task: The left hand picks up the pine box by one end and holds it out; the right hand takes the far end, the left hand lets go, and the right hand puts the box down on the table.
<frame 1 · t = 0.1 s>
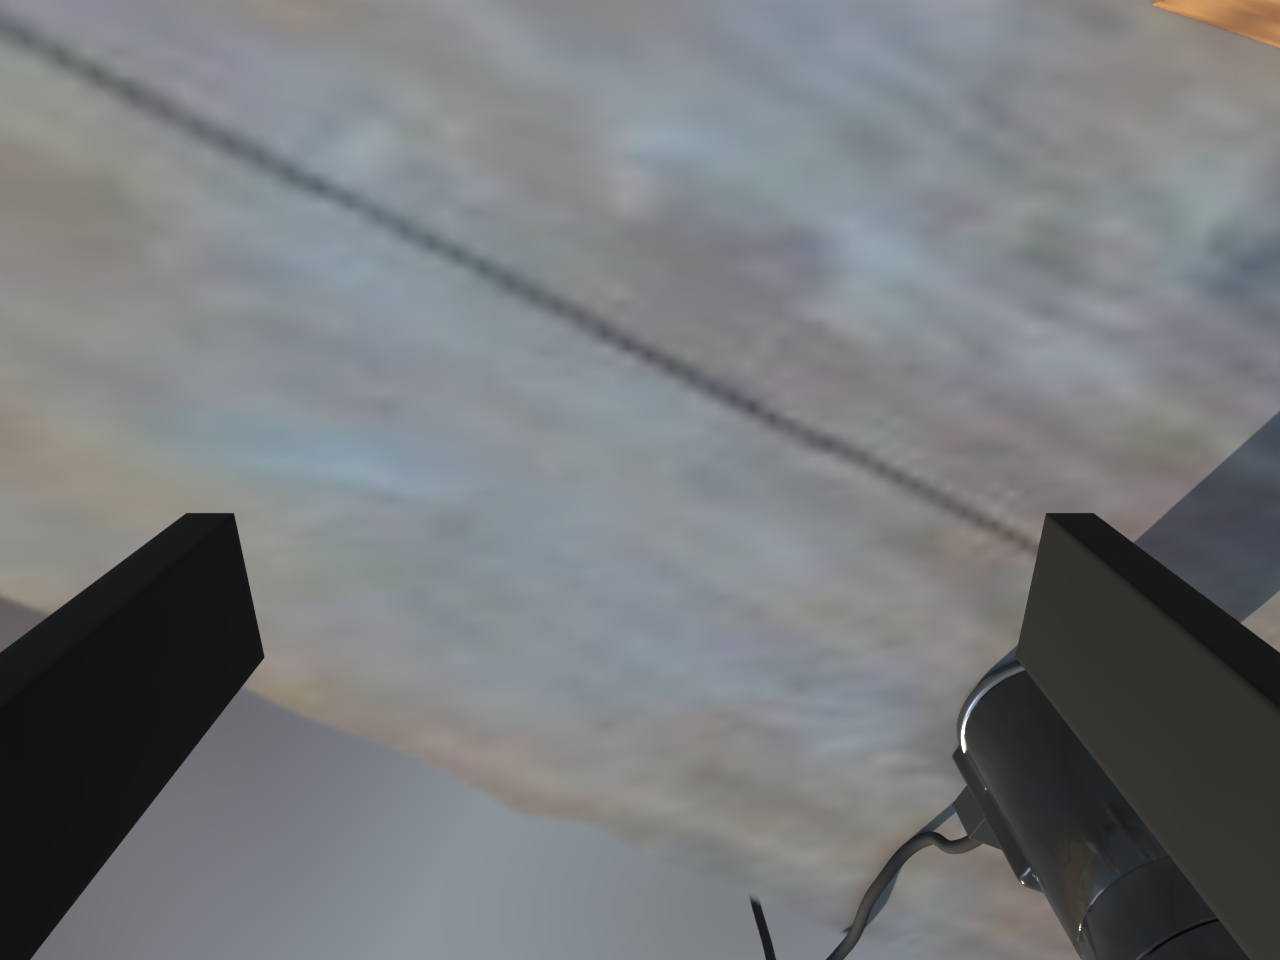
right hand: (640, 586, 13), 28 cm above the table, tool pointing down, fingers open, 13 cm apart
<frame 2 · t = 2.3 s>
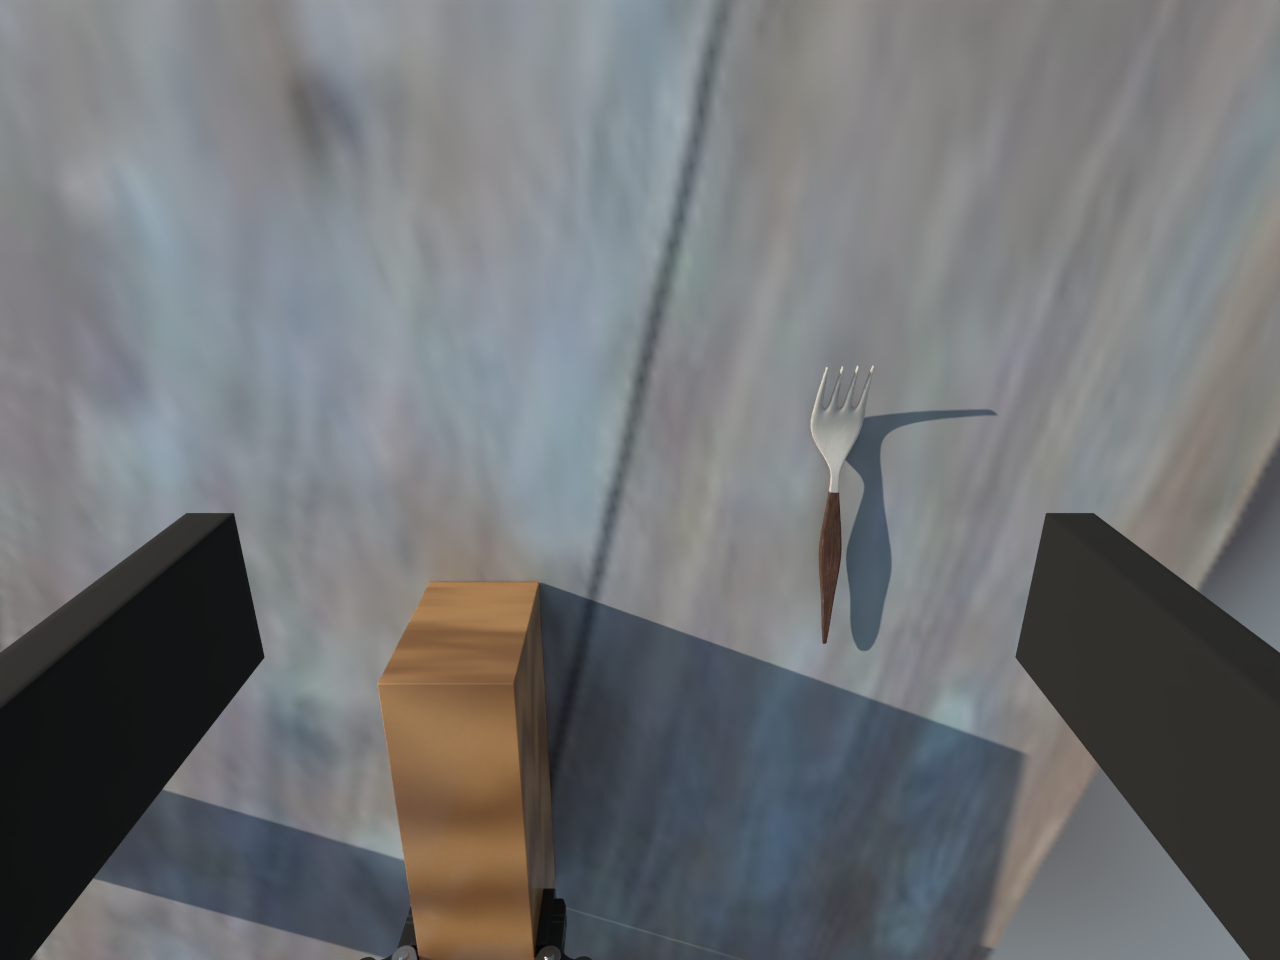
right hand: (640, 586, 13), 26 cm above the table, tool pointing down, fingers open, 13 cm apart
fork: (829, 506, 40), on the table
box: (497, 742, 46), on the table, touching left hand
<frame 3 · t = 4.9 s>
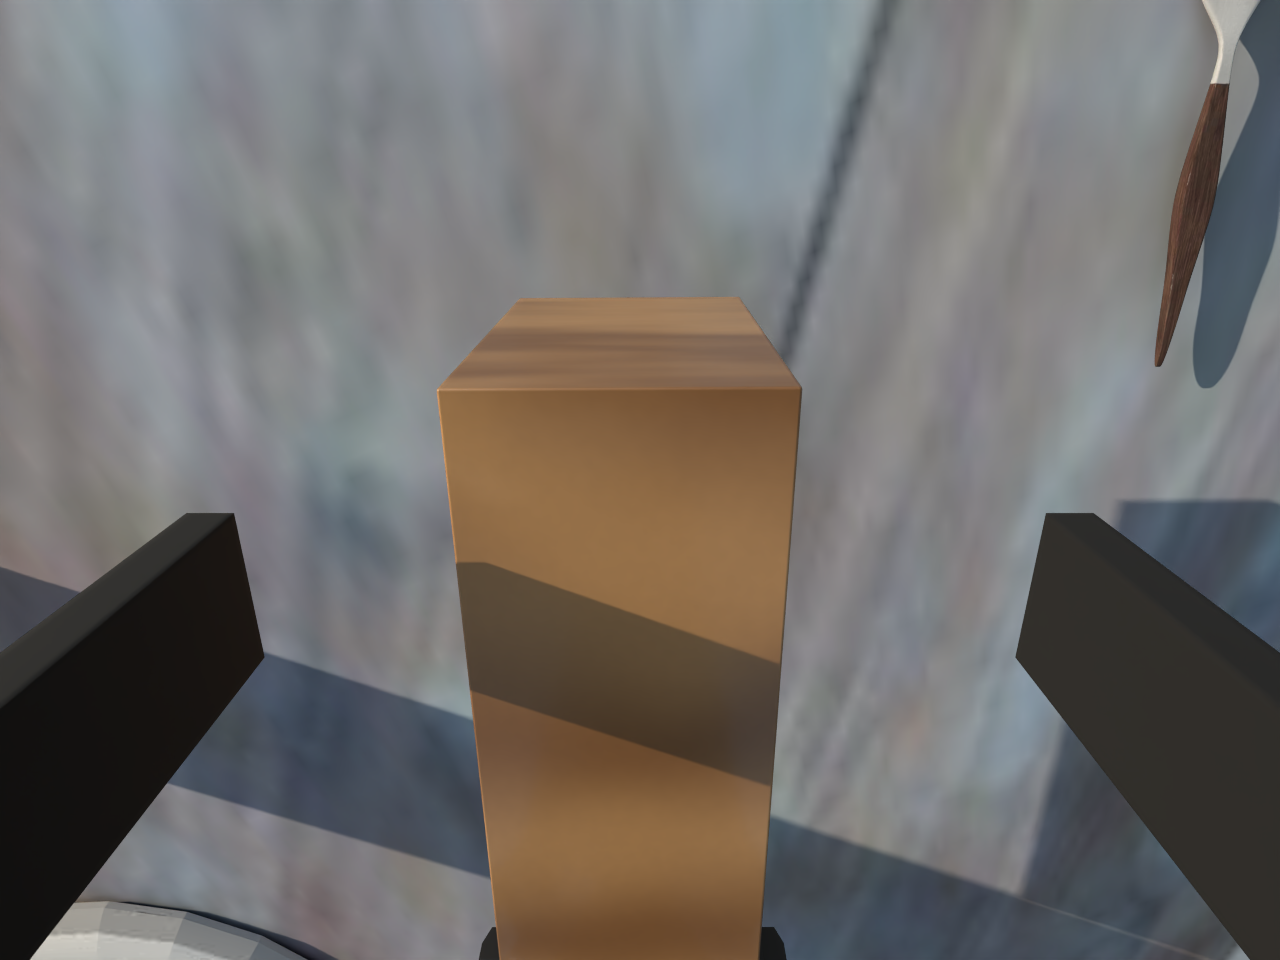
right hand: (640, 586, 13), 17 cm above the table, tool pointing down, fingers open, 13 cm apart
fork: (1197, 124, 25), on the table
box: (633, 638, 25), point 7 cm above the table, touching left hand
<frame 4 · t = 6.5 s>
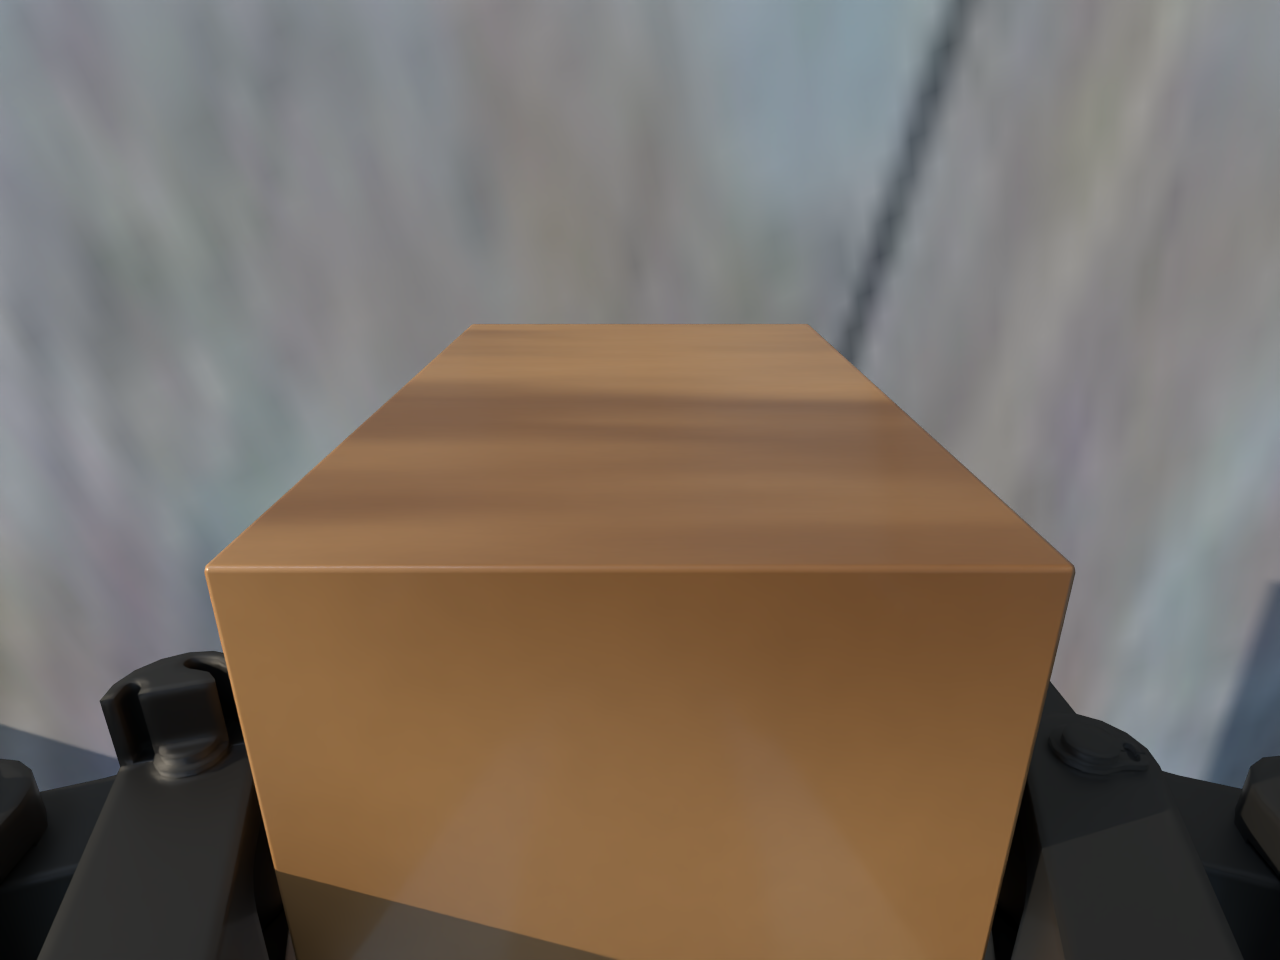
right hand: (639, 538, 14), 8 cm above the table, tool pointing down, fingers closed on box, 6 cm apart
box: (640, 802, 18), point 7 cm above the table, touching right hand, left hand
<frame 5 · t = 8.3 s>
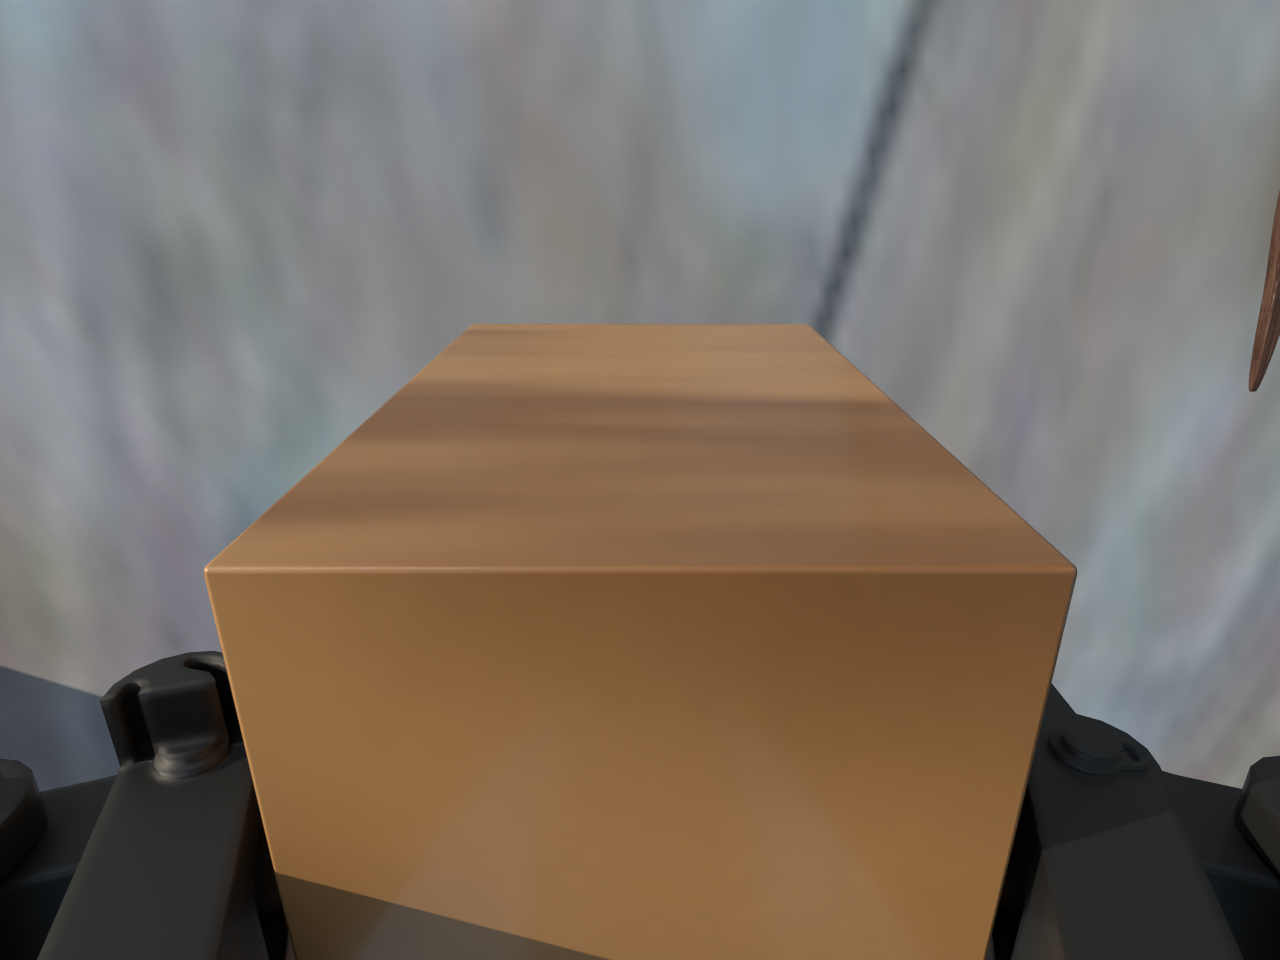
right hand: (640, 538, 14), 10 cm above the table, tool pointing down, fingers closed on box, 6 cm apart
box: (640, 802, 18), point 10 cm above the table, touching right hand
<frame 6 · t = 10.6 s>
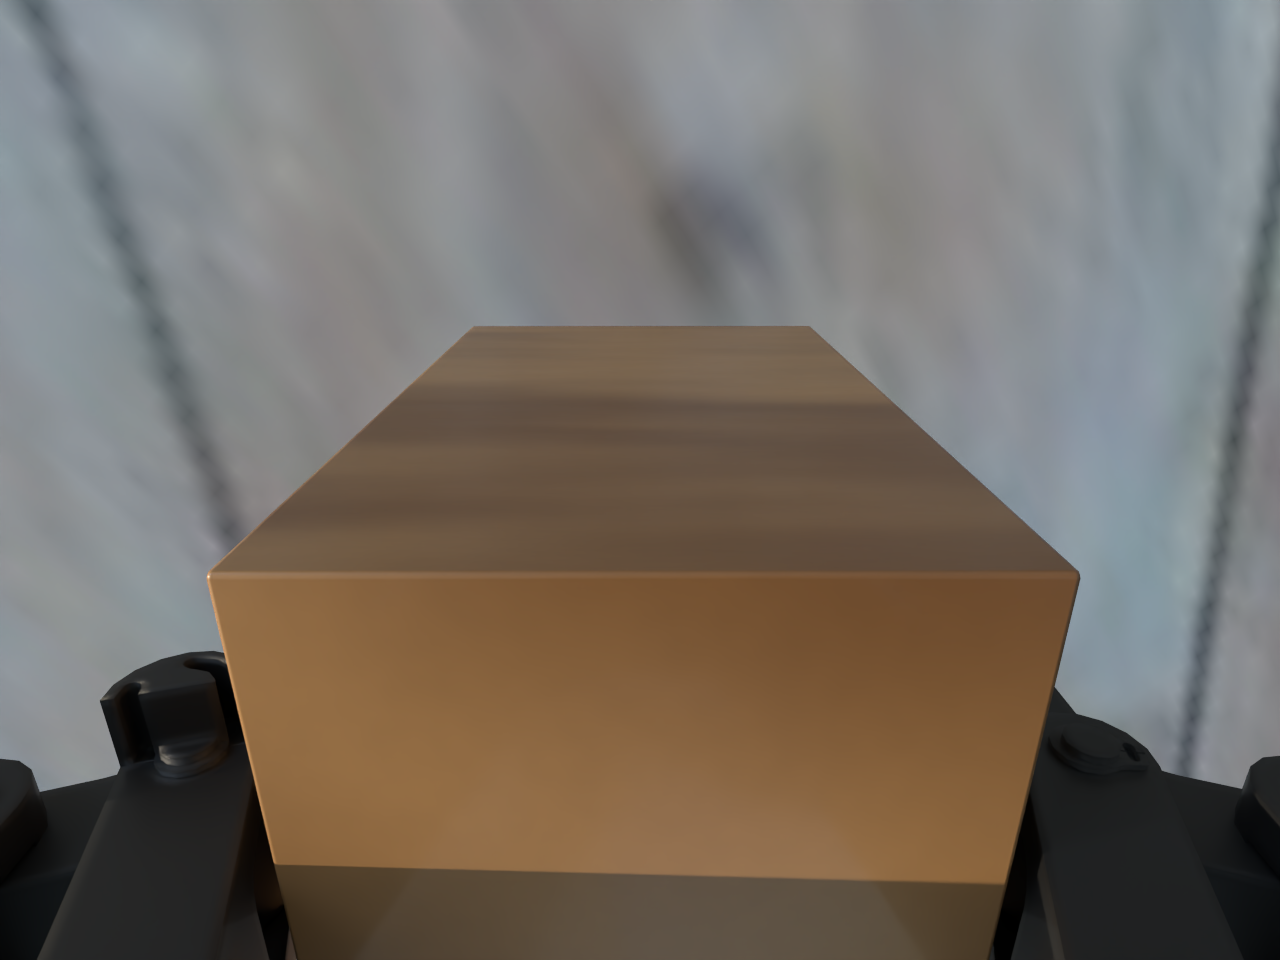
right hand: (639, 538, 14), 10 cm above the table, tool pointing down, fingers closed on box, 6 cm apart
box: (641, 804, 18), point 10 cm above the table, touching right hand
when the right hand's fingers open (2 cm above the table, at t = 14.9 s): box drops 1 cm, on the table.
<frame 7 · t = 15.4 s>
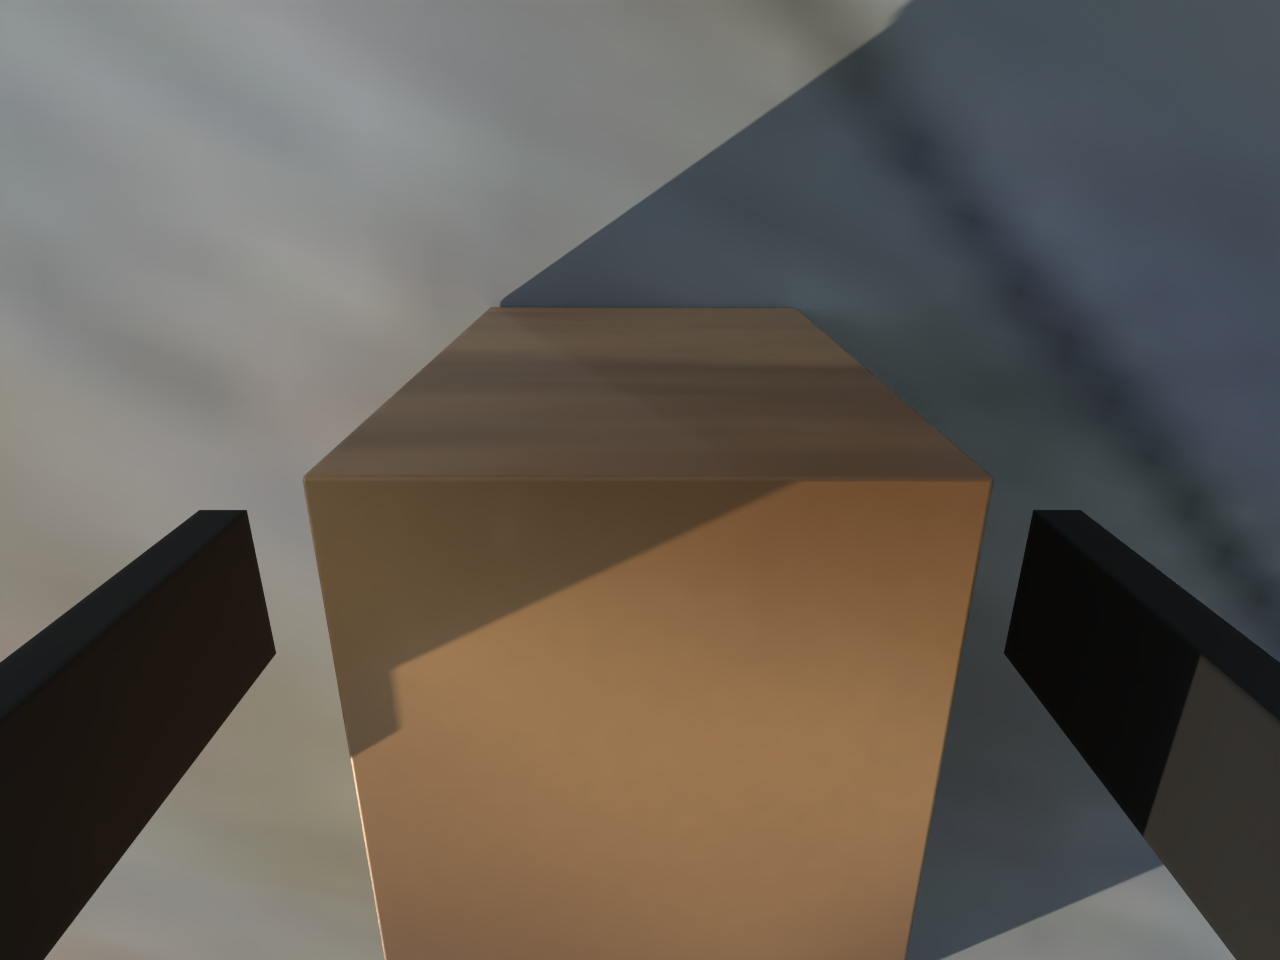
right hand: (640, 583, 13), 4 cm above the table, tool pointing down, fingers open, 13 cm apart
box: (641, 755, 19), on the table
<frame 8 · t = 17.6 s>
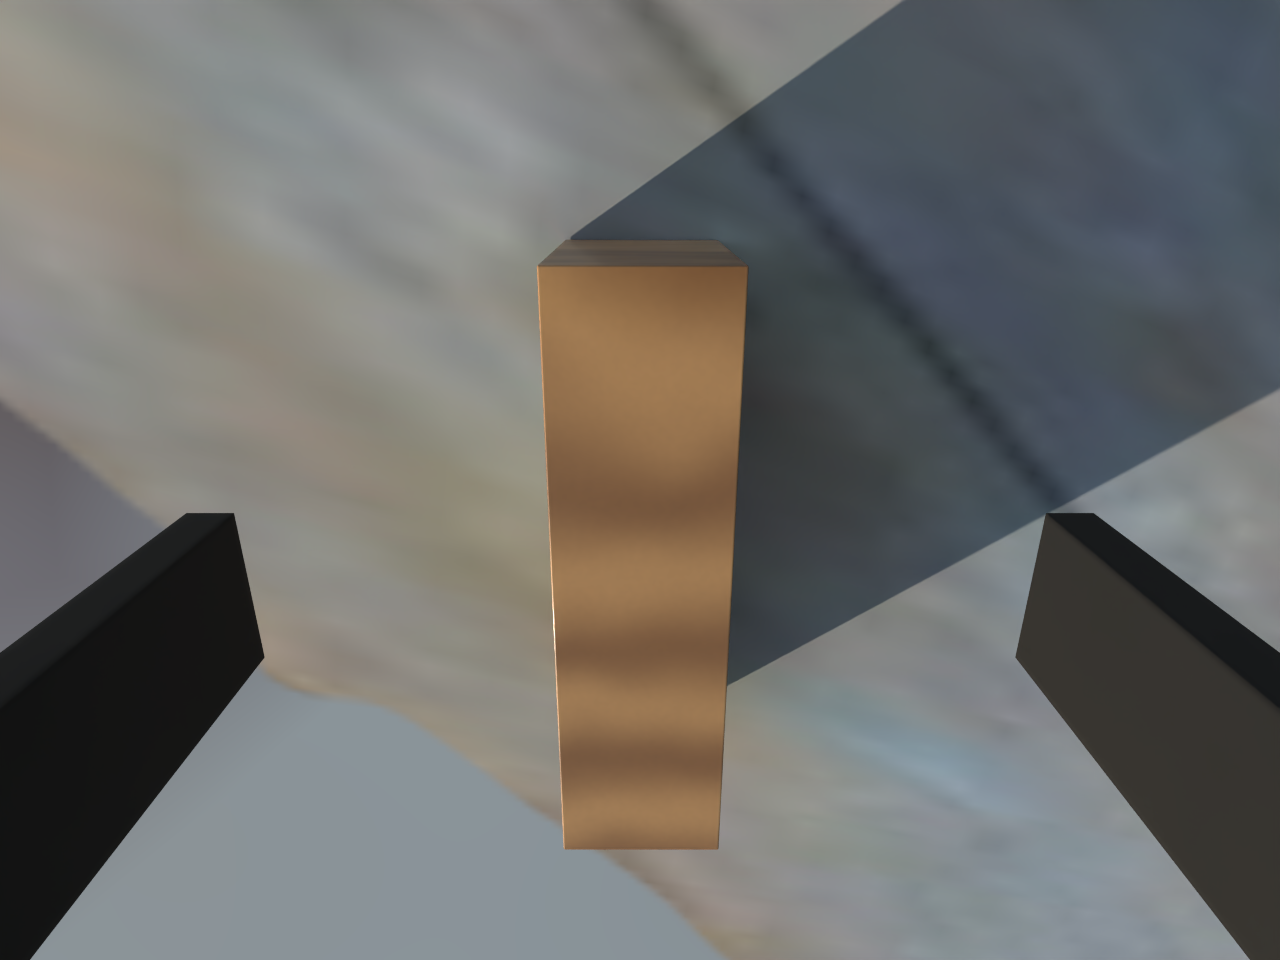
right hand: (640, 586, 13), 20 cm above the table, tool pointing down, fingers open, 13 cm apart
box: (641, 497, 34), on the table
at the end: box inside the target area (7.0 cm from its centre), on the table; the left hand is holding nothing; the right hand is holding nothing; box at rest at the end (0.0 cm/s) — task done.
